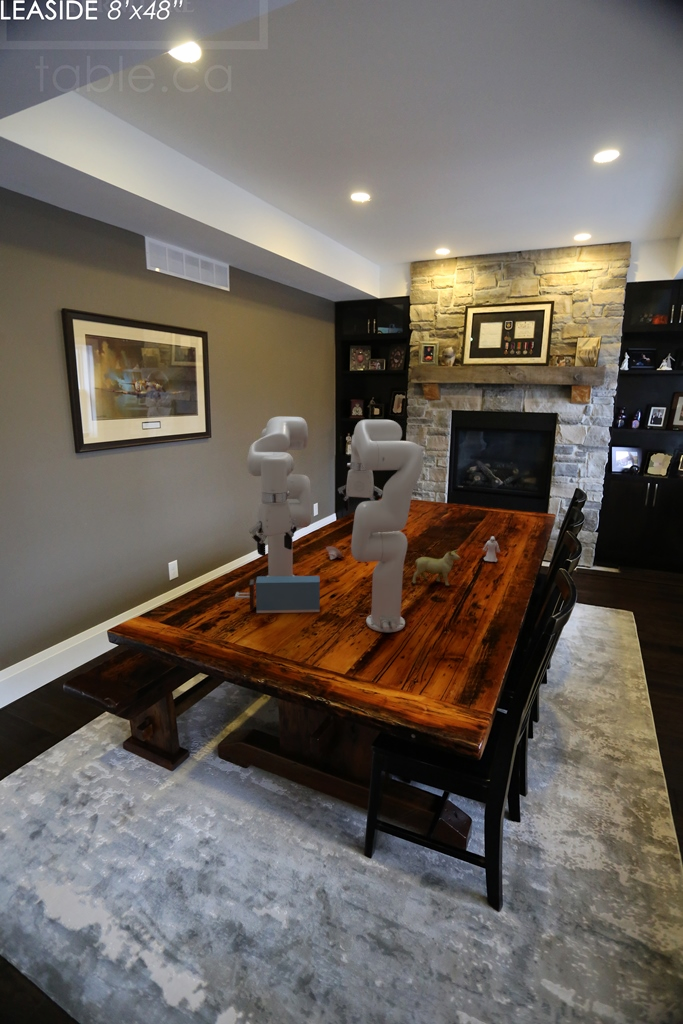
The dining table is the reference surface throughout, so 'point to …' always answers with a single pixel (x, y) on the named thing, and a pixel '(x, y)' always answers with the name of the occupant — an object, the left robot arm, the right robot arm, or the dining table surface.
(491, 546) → the figurine
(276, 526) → the left robot arm
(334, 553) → the white lid
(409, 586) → the dining table surface
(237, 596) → the drawer
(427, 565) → the toy
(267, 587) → the blue slab
